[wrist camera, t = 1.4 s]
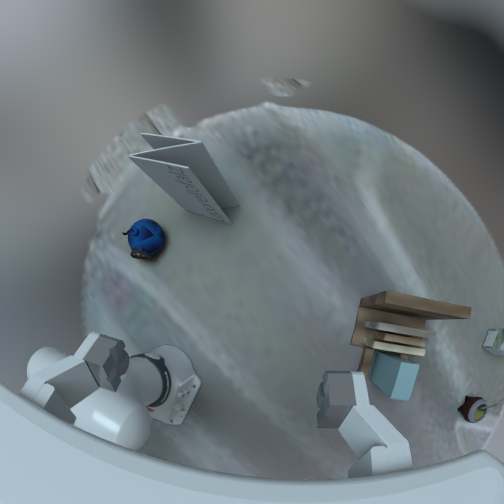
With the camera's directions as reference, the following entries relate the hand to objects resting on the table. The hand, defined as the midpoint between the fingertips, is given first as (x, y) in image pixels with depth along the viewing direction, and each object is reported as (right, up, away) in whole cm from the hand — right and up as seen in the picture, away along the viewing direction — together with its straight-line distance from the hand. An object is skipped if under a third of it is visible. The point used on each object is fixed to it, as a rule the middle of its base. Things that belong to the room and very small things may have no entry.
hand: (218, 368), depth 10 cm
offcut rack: (+33, -17, +49) cm, 62 cm away
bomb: (-26, +7, +66) cm, 71 cm away
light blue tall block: (+32, -23, +48) cm, 62 cm away
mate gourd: (+60, -37, +40) cm, 81 cm away
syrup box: (+67, -20, +43) cm, 82 cm away
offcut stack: (+33, -15, +49) cm, 61 cm away
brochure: (-9, +16, +65) cm, 68 cm away
